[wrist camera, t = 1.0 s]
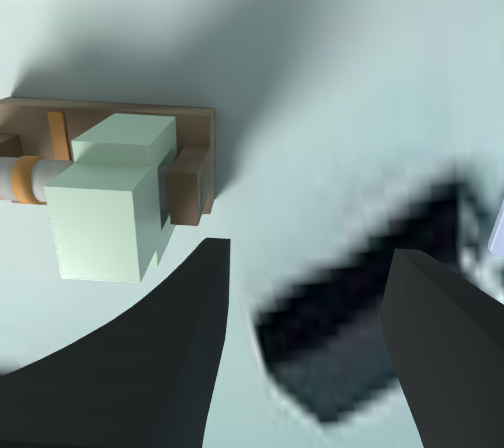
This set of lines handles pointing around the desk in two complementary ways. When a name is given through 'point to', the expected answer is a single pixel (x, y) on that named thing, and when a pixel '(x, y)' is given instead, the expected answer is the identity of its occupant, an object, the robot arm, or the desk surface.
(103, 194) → the mint green stepped block
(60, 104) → the rod stand
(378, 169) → the desk surface
